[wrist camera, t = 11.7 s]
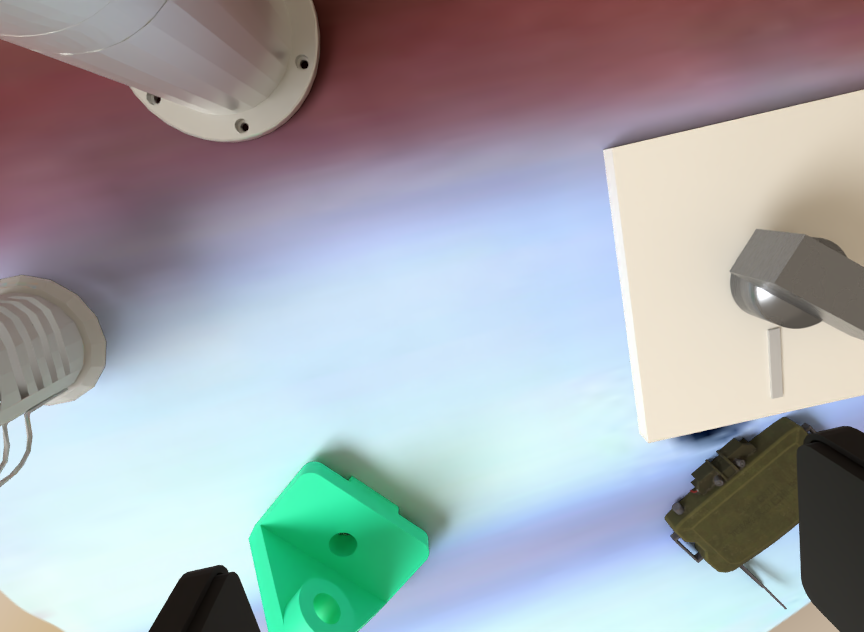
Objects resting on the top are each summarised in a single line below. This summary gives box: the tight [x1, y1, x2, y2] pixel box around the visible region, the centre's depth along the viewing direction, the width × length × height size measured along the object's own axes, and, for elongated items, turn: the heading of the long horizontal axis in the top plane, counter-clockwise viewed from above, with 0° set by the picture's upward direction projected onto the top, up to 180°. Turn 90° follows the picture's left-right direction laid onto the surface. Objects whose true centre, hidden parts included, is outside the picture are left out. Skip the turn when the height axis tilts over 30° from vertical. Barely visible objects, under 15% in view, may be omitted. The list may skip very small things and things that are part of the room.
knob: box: [729, 229, 864, 340], centre depth 32 cm, size 13×6×7 cm, turn 64°
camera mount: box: [249, 462, 429, 632], centre depth 36 cm, size 12×8×10 cm, turn 51°
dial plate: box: [603, 90, 864, 443], centre depth 36 cm, size 22×20×2 cm
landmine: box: [665, 417, 816, 609], centre depth 41 cm, size 14×3×15 cm
